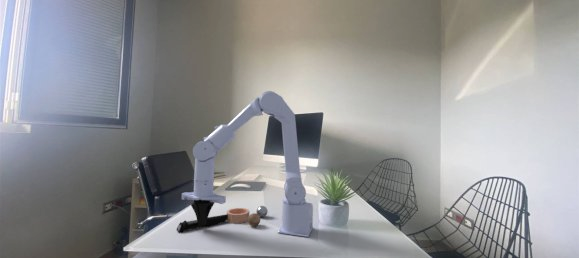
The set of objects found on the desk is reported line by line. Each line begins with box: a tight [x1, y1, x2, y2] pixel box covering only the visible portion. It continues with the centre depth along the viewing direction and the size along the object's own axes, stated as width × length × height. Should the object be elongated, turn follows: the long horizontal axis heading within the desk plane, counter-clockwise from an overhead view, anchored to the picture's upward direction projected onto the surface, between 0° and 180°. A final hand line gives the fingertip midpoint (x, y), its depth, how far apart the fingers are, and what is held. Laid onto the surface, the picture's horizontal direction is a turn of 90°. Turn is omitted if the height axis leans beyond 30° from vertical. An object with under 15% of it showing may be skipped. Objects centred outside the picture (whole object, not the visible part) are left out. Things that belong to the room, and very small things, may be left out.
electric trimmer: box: [176, 213, 228, 234], centre depth 74 cm, size 4×16×3 cm, turn 126°
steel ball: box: [256, 205, 268, 218], centre depth 84 cm, size 4×4×4 cm
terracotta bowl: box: [226, 207, 251, 224], centre depth 81 cm, size 8×8×3 cm
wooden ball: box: [247, 212, 261, 228], centre depth 75 cm, size 4×4×4 cm
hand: (202, 224), depth 71 cm, fingers closed
